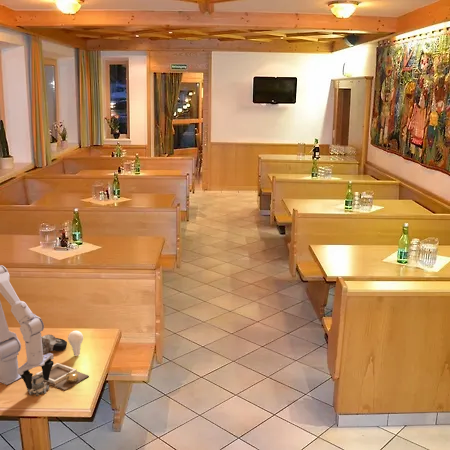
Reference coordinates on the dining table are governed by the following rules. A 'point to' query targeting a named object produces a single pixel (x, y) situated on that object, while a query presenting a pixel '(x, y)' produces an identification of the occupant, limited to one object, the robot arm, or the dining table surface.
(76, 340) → the lightbulb
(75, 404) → the dining table surface
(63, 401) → the dining table surface
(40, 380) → the planet gear
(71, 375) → the golden brown dome
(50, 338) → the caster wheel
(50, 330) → the dining table surface
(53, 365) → the carrier pocket
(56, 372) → the carrier board
